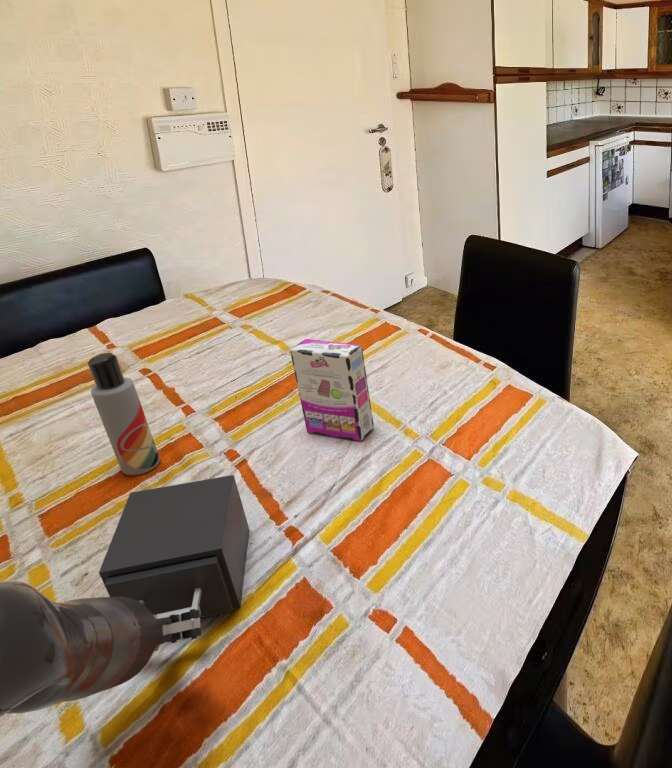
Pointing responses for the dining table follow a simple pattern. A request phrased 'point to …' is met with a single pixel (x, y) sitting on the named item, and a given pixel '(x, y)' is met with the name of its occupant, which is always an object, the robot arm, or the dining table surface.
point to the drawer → (176, 587)
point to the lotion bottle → (122, 416)
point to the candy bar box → (333, 388)
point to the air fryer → (182, 530)
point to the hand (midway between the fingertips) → (162, 631)
